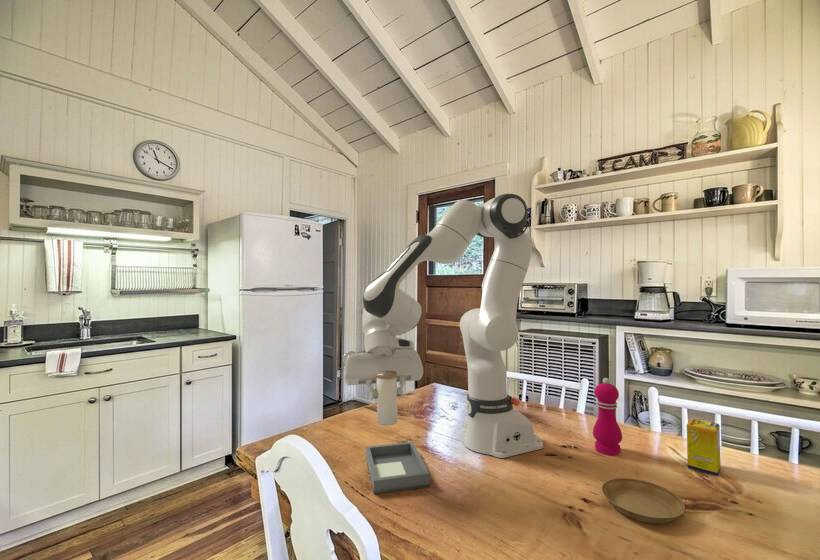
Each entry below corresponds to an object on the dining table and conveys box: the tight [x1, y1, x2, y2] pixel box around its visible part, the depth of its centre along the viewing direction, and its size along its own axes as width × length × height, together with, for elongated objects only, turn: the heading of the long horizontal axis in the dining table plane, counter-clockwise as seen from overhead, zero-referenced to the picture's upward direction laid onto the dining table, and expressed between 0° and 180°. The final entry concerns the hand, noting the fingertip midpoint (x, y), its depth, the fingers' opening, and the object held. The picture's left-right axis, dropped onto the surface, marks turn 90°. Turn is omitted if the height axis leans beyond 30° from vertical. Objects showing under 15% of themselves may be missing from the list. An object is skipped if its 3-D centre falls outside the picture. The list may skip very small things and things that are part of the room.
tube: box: [376, 371, 398, 426], centre depth 94 cm, size 5×5×12 cm
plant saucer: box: [600, 477, 686, 525], centre depth 78 cm, size 15×15×3 cm
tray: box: [365, 441, 431, 495], centre depth 95 cm, size 13×18×3 cm
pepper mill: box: [592, 377, 623, 456], centre depth 104 cm, size 7×7×20 cm
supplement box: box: [686, 418, 722, 477], centre depth 94 cm, size 6×6×11 cm
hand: (387, 396), depth 93 cm, fingers closed on tube, 5 cm apart
